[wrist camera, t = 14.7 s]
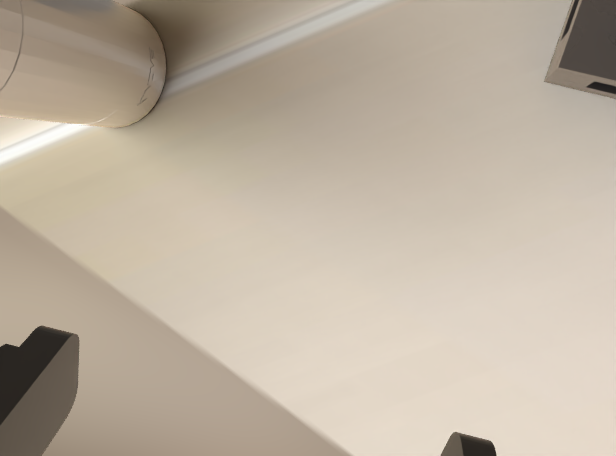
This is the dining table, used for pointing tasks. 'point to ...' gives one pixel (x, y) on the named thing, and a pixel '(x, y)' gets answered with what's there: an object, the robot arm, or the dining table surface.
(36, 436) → the robot arm
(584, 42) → the collar stand
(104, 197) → the dining table surface
